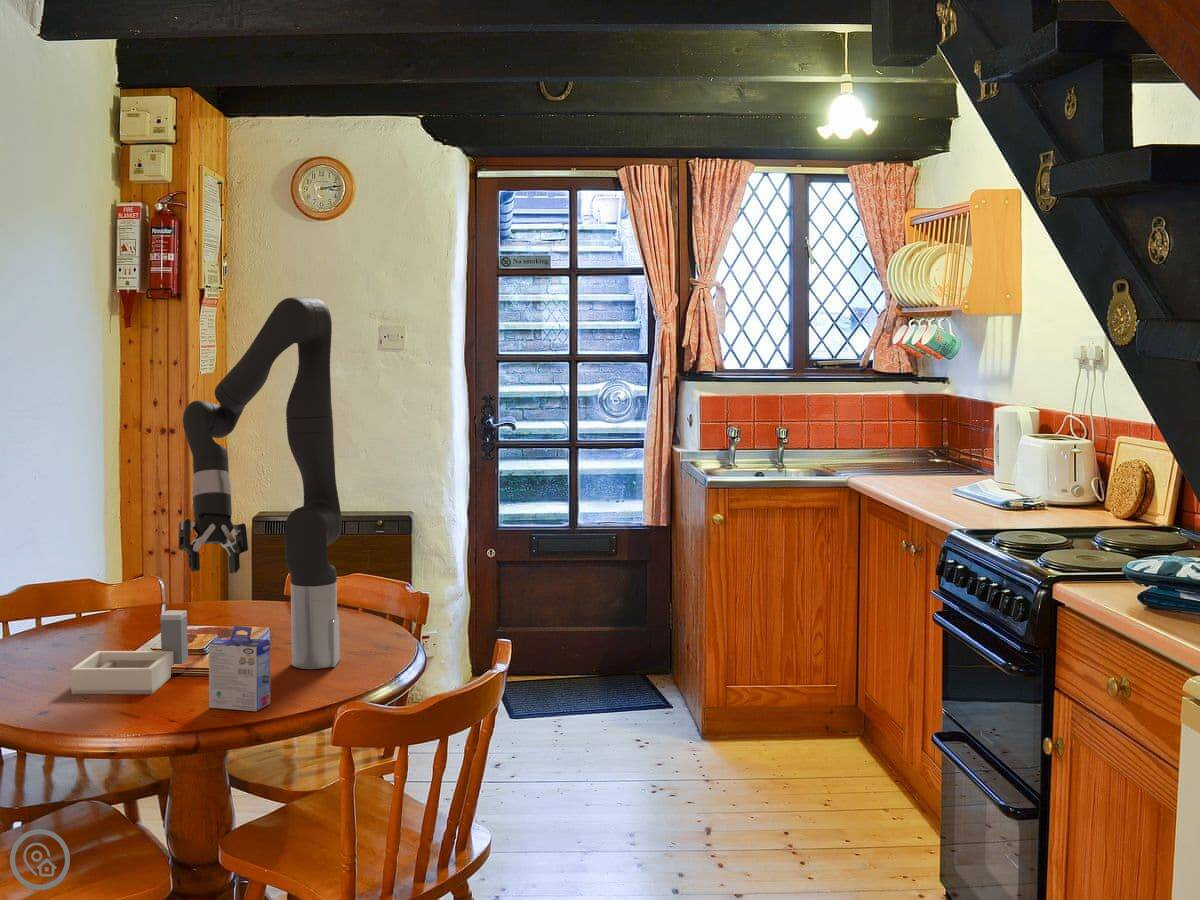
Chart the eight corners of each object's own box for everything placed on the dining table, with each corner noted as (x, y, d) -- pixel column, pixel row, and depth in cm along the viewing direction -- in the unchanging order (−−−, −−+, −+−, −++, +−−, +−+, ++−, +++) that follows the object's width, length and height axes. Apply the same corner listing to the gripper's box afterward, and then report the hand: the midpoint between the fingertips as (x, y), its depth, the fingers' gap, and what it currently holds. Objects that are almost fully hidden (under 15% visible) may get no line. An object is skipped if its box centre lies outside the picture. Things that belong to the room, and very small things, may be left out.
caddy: (173, 674, 240) (173, 651, 239) (152, 694, 227) (151, 669, 226) (97, 674, 239) (96, 651, 239) (71, 694, 226) (70, 669, 226)
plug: (188, 668, 244) (186, 610, 243) (182, 673, 240) (180, 615, 239) (168, 668, 244) (166, 610, 243) (162, 673, 240) (160, 615, 239)
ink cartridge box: (272, 703, 222) (271, 626, 220) (258, 712, 216) (256, 634, 215) (223, 699, 224) (221, 623, 222) (208, 708, 218) (206, 630, 217)
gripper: (189, 487, 241) (192, 567, 237) (252, 493, 251) (255, 569, 247) (170, 496, 246) (173, 574, 241) (233, 502, 256) (236, 577, 252)
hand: (214, 572), depth 244 cm, fingers open, 8 cm apart
